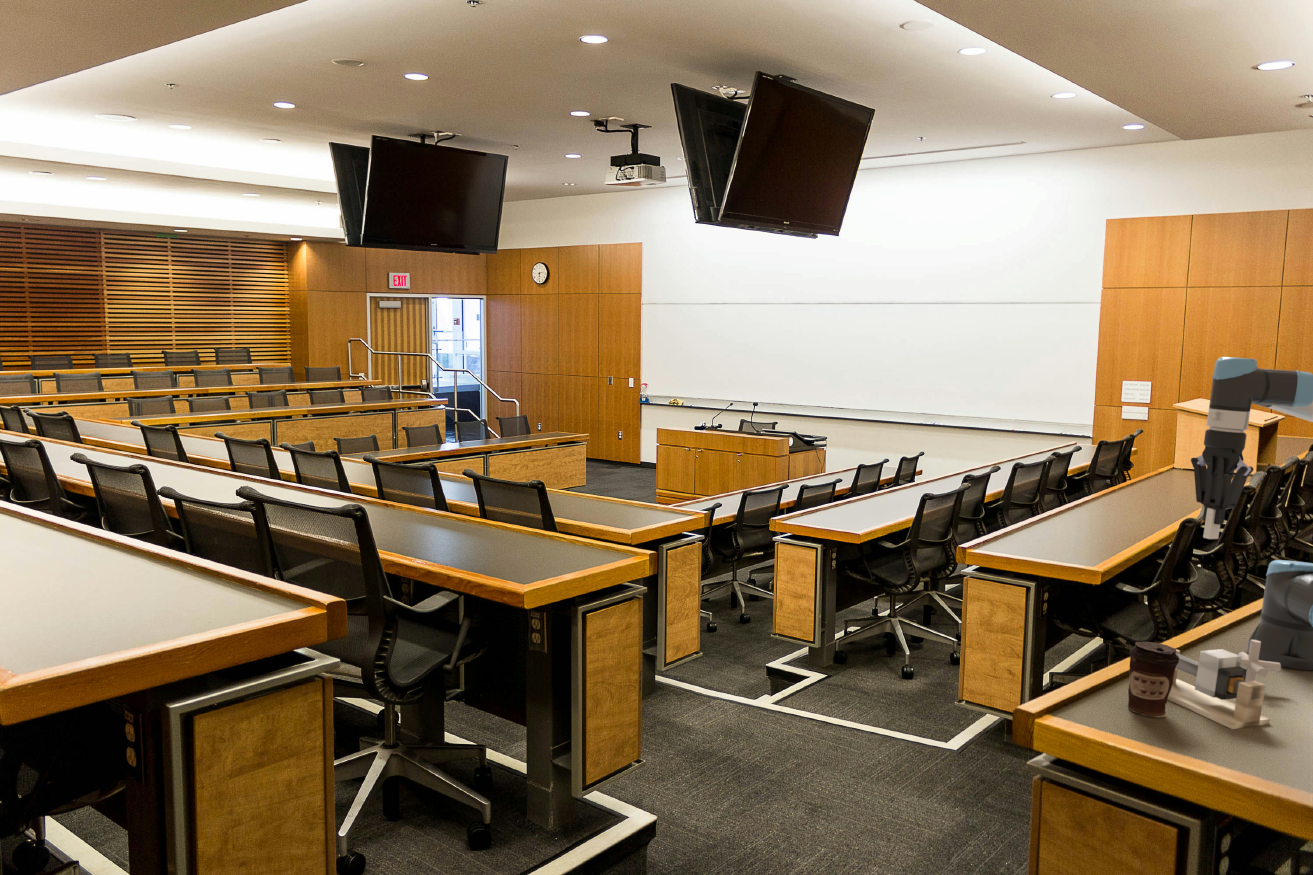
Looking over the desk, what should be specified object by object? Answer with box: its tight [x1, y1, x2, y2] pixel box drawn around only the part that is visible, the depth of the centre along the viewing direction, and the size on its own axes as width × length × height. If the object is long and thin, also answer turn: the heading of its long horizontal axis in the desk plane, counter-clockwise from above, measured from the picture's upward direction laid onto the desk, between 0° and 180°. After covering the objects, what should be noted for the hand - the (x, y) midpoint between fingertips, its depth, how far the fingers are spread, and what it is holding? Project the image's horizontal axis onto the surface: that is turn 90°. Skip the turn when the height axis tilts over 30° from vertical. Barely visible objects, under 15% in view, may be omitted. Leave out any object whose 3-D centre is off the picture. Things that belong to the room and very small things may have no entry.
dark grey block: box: [1214, 666, 1247, 700], centre depth 177 cm, size 6×2×6 cm, turn 111°
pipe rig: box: [1167, 648, 1271, 730], centre depth 182 cm, size 10×20×8 cm, turn 21°
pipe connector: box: [1237, 640, 1282, 682], centre depth 194 cm, size 10×10×10 cm
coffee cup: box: [1127, 641, 1179, 718], centre depth 176 cm, size 9×8×13 cm
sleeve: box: [1195, 648, 1241, 698], centre depth 179 cm, size 6×4×8 cm, turn 111°
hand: (1210, 537), depth 200 cm, fingers closed
